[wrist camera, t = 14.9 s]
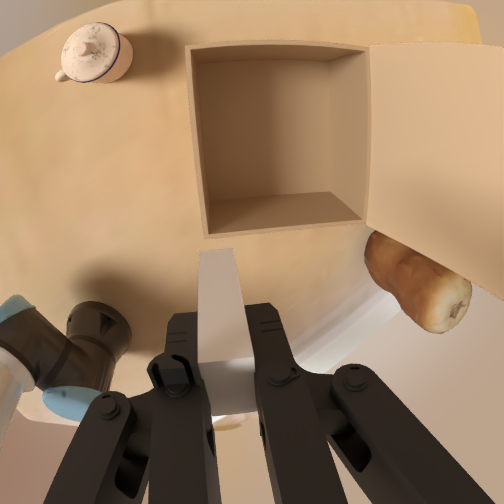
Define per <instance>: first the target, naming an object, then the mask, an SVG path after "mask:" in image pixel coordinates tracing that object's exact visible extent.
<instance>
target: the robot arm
mask: <svg viewBox="0 0 504 504" xmlns="http://www.w3.org/2000/svg"><path fill="white" fill-rule="evenodd" d="M130 340H131V330H130V327H129V325H128V323H127V322H126V320H125V319H124V318H123V317H122V316H121V315H120V314H119V313H118V312H117V311H116V310H114V309H113V308H111V307H109V306H107V305H104V304H101V303H98V302H83V303H80V304H78V305H77V306H75V307H74V308H73V310H72V311H71V313H70V315H69V317H68V320H67V330H66V336H65V335H64V334H62V333H61V332H60V331H59V330H58V329H57V328H56V327H54V326H53V325H52V324H51V323H50V322H49V321H48V320H47V319H46V318H45V317H44V316H43V315H41V314H40V313H39V312H38V311H37V310H36V307H35V306H33V305H31V304H30V303H29V302H28V301H27V300H26V299H25V298H24V297H22V296H21V295H13V296H11V297H10V298H9V299H8V300H6V301H5V302H4V303H3V304H2V305H1V306H0V449H1V446H2V444H3V441H4V438H5V435H6V432H7V430H8V427H9V424H10V421H11V419H12V417H13V414H14V412H15V409H16V407H17V404H18V402H19V400H20V397H21V395H22V393H23V392H30V391H32V390H33V389H34V388H35V386H37V387H38V388H39V389H41V390H42V391H43V394H42V397H43V402H44V404H45V405H46V406H47V408H48V409H50V410H51V411H52V412H54V413H55V414H57V415H59V416H61V417H64V418H66V419H69V420H73V421H79V422H81V423H80V425H79V427H78V429H77V431H76V433H75V435H74V437H73V439H72V441H71V443H70V445H69V447H68V449H67V451H66V453H65V456H64V458H63V460H62V462H61V464H60V466H59V469H58V471H57V473H56V475H55V477H54V480H53V482H52V484H51V486H50V489H49V491H48V493H47V496H46V498H45V500H44V503H43V504H141V503H142V500H143V497H144V494H145V490H146V487H147V484H148V481H149V496H148V497H149V498H148V500H149V501H148V502H149V503H148V504H222V502H221V494H220V485H219V476H218V467H217V456H216V445H215V433H214V428H213V425H212V417H211V413H212V416H221V415H231V414H240V413H248V412H255V411H258V415H259V425H260V436H262V441H263V446H264V451H265V456H266V462H267V466H268V472H269V477H270V481H271V486H272V491H273V496H274V501H275V504H348V502H347V499H346V496H345V493H344V490H343V487H342V484H341V481H340V478H339V475H338V472H337V469H336V466H335V463H334V460H333V457H332V454H331V451H330V448H329V445H328V442H329V444H330V445H331V447H332V448H333V450H334V451H335V452H336V454H337V455H338V457H339V458H340V460H341V461H342V462H343V464H344V465H345V467H346V468H347V470H348V471H349V472H350V474H351V475H352V476H353V478H354V479H355V481H356V482H357V483H358V485H359V486H360V488H361V489H362V490H363V492H364V493H365V494H366V496H367V497H368V499H369V500H370V501H371V503H372V504H495V503H494V502H493V500H492V499H491V498H490V497H489V496H488V495H487V494H486V493H485V492H484V491H483V489H482V488H481V487H480V486H479V485H478V484H477V483H476V482H475V481H474V480H473V478H472V477H471V476H470V475H469V474H468V473H467V472H466V471H465V470H464V469H463V468H462V466H461V465H460V464H459V463H458V462H457V461H456V460H455V459H454V458H453V457H452V456H451V454H450V453H448V451H447V450H446V449H445V448H444V447H443V446H442V445H441V444H440V442H439V441H438V440H437V439H436V438H435V437H434V436H433V435H432V434H431V433H430V432H429V431H428V429H427V428H426V427H425V426H424V425H423V424H422V423H421V422H420V421H419V420H418V419H417V418H416V417H415V415H414V414H413V413H412V412H411V411H410V410H409V409H408V408H407V407H406V406H405V405H404V404H403V402H402V401H401V400H400V399H399V398H398V397H397V396H396V395H395V394H394V393H393V392H392V391H391V390H390V389H389V387H388V386H387V385H386V384H385V383H384V382H383V381H382V380H381V379H380V378H379V377H378V376H377V375H376V374H375V372H374V371H372V370H371V369H370V368H368V367H366V366H364V365H361V364H347V365H344V366H342V367H340V368H339V369H337V370H336V372H335V373H334V375H332V374H317V373H311V372H309V371H306V370H304V369H303V368H301V367H300V366H299V365H298V364H297V363H296V362H295V360H294V358H293V355H292V352H291V349H290V346H289V343H288V340H287V337H286V334H285V331H284V329H283V325H282V322H281V319H280V316H279V313H278V310H277V309H276V308H274V307H273V306H272V305H271V304H270V303H261V304H253V305H245V306H244V303H243V298H242V293H241V288H240V283H239V278H238V272H237V267H236V262H235V256H234V251H233V248H229V249H220V250H210V251H201V252H199V276H198V312H188V313H177V314H174V315H173V317H172V318H171V319H170V321H169V322H168V326H167V335H166V344H165V352H164V353H162V354H160V355H158V356H156V357H155V358H154V359H153V360H152V361H151V362H150V363H149V365H148V368H147V372H148V374H149V377H150V379H151V381H152V384H153V386H154V388H153V389H151V390H150V391H148V392H146V393H144V394H141V395H137V396H134V397H131V398H127V397H126V396H125V395H124V394H122V393H120V392H117V391H109V390H110V386H111V381H112V377H113V373H114V369H115V365H116V363H117V362H118V360H119V359H120V358H121V356H122V355H123V354H124V353H125V352H126V351H127V349H128V347H129V344H130ZM327 441H328V442H327Z"/></svg>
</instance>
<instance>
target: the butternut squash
mask: <svg viewBox="0 0 504 504" xmlns="http://www.w3.org/2000/svg"><path fill="white" fill-rule="evenodd" d="M364 256H365V260H364V261H365V264H366V266H367V268H368V271H369V273H370V275H371V277H372V278H373V280H374V281H375V283H376V284H377V285H379V286H380V287H381V288H382V289H384V290H386V291H388V292H390V293H392V294H393V295H394V296H395V298H396V299H397V301H398V303H399V304H400V306H401V308H402V310H403V311H404V312H405V313H406V314H407V315H408V316H409V317H410V318H411V319H412V320H413V321H414V322H415V323H417V324H418V325H419V326H420V327H421V328H423V329H424V330H426V331H428V332H431V333H435V334H441V333H444V332H447V331H448V330H450V329H452V328H453V327H455V326H456V325H457V324H458V323H459V322H460V321H461V319H462V318H463V317H464V315H465V313H466V312H467V309H468V307H469V303H470V299H471V296H472V285H471V281H469V280H467V279H466V278H464V277H462V276H461V275H459V274H457V273H455V272H454V271H452V270H450V269H448V268H447V267H445V266H443V265H441V264H439V263H438V262H436V261H434V260H432V259H430V258H428V257H427V256H425V255H423V254H421V253H419V252H417V251H415V250H414V249H412V248H410V247H408V246H406V245H404V244H402V243H400V242H398V241H396V240H394V239H392V238H390V237H389V236H387V235H385V234H383V233H381V232H379V231H377V230H375V231H374V232H373V233H371V235H370V237H369V239H368V242H367V245H366V249H365V253H364Z"/></svg>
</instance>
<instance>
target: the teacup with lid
mask: <svg viewBox="0 0 504 504" xmlns="http://www.w3.org/2000/svg"><path fill="white" fill-rule="evenodd" d="M132 60H133V48H132V45H131V43H130V42H129V41H128V40H127V39H126V38H125V37H123V36H122V35H121V34H119V33H118V32H117V31H116V30H115V29H114V28H113V27H112V26H110V25H108V24H106V23H99V22H98V23H91V24H87V25H85V26H83V27H81V28H79V29H78V30H77V31H75V32H74V33H73V34H72V35H71V36H70V38H69V39H68V40H67V42H66V44H65V46H64V48H63V51H62V57H61V62H62V67H63V69H61V70H60V71H59V72H58V73H57V74H56V76H55V78H56V81H57V82H65V81H68V80H71V79H72V80H74V81H76V82H82V83H86V82H96V83H110V82H113V81H115V80H117V79H119V78H120V77H122V76H123V75H124V74H125V73H126V72H127V70H128V69H129V67H130V65H131V63H132Z"/></svg>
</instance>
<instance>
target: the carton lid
mask: <svg viewBox="0 0 504 504" xmlns="http://www.w3.org/2000/svg"><path fill="white" fill-rule="evenodd" d="M369 53H370V70H371V103H372V131H371V165H370V184H369V198H368V211H367V222H366V226H368V227H371V228H373V229H375V230H377V231H379V232H381V233H383V234H385V235H387V236H389V237H390V238H392V239H394V240H396V241H398V242H400V243H402V244H404V245H406V246H408V247H410V248H412V249H414V250H415V251H417V252H419V253H421V254H423V255H425V256H427V257H428V258H430V259H432V260H434V261H436V262H438V263H439V264H441V265H443V266H445V267H447V268H448V269H450V270H452V271H454V272H455V273H457V274H459V275H461V276H462V277H464V278H466V279H467V280H469V281H471V282H473V283H474V284H476V285H478V286H479V287H481V288H483V289H484V290H486V291H488V292H489V293H491V294H492V295H494V296H496V297H498V298H499V299H500V300H502V301H503V300H504V47H498V46H488V45H479V44H466V43H444V42H415V43H392V44H378V45H369Z"/></svg>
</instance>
